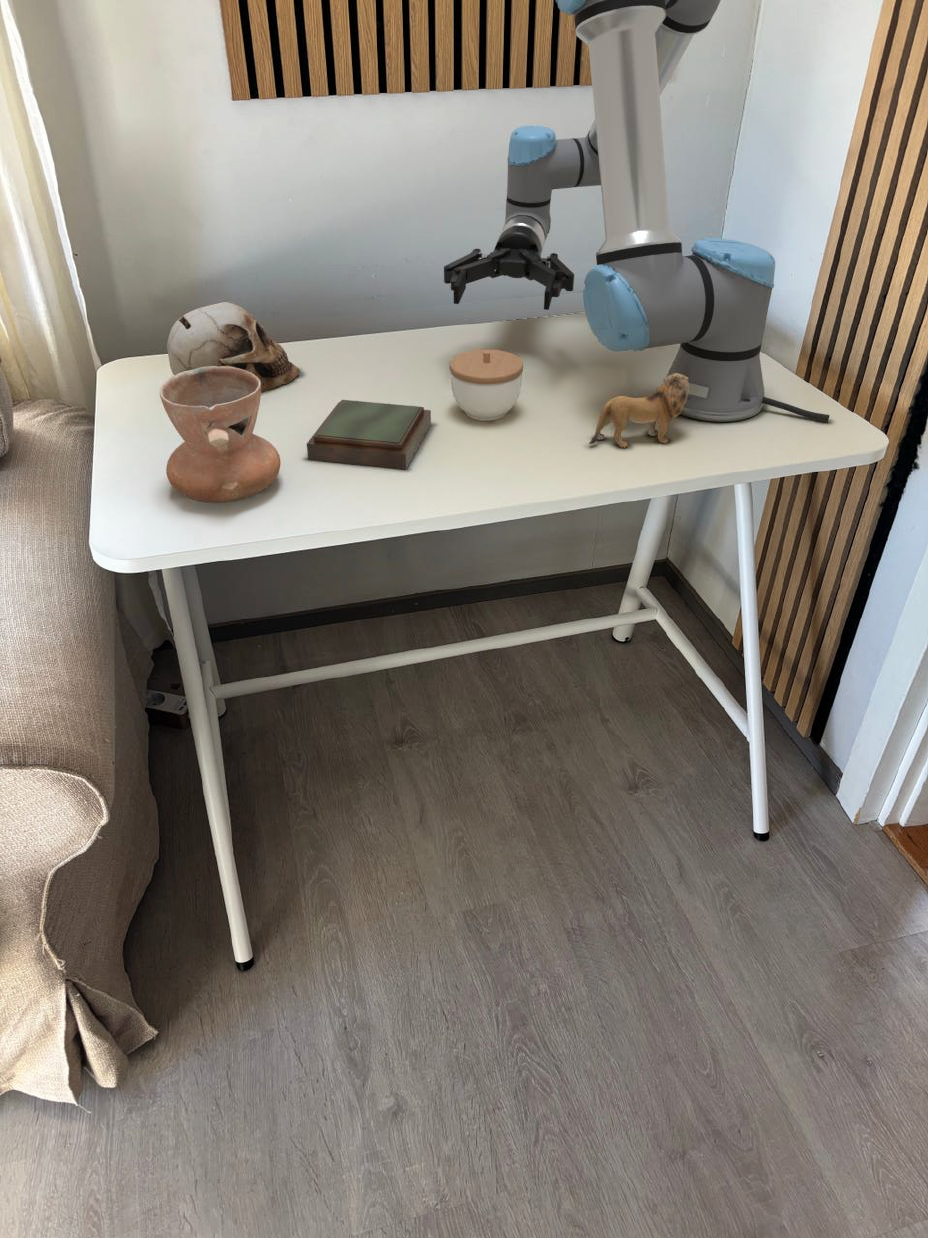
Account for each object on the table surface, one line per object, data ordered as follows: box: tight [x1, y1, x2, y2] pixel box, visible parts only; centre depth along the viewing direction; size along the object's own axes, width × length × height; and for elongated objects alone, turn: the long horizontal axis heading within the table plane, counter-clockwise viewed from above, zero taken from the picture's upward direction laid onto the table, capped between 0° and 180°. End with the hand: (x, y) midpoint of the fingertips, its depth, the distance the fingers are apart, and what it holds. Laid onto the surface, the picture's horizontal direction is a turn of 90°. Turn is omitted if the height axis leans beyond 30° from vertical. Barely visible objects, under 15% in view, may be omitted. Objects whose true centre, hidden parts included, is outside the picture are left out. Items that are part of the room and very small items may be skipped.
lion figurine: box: [588, 373, 690, 448], centre depth 134 cm, size 15×5×9 cm, turn 110°
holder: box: [306, 399, 432, 470], centre depth 136 cm, size 14×14×3 cm
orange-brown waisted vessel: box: [159, 366, 282, 504], centre depth 123 cm, size 18×14×14 cm
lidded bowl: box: [449, 349, 524, 422], centre depth 142 cm, size 11×11×9 cm
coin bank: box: [166, 301, 301, 392], centre depth 150 cm, size 16×17×13 cm
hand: (501, 297), depth 143 cm, fingers open, 13 cm apart
